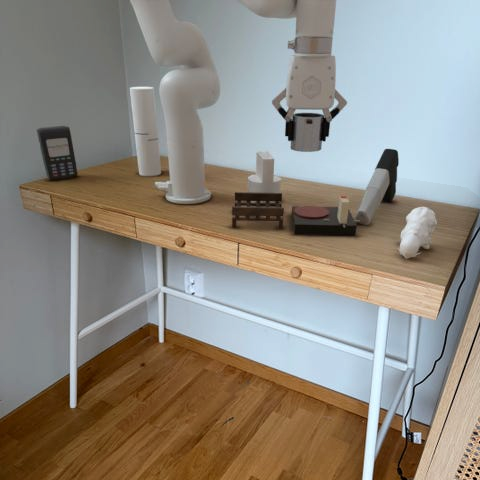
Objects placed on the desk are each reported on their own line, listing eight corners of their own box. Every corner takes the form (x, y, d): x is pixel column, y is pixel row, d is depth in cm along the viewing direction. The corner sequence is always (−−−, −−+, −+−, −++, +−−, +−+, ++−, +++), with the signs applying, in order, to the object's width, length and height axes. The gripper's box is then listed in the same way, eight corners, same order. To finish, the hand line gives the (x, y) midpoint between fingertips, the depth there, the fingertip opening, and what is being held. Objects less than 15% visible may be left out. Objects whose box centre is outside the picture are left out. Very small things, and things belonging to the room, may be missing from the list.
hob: (294, 236, 105) (295, 225, 104) (291, 215, 117) (291, 205, 116) (361, 238, 105) (363, 227, 103) (351, 216, 117) (352, 206, 115)
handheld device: (397, 192, 127) (399, 147, 115) (370, 252, 119) (369, 211, 107) (383, 189, 129) (384, 145, 117) (355, 249, 121) (353, 208, 108)
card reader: (49, 182, 141) (38, 129, 133) (45, 179, 144) (34, 127, 136) (79, 177, 145) (70, 127, 137) (75, 174, 148) (66, 124, 140)
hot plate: (295, 217, 108) (295, 216, 108) (293, 206, 115) (293, 205, 115) (331, 218, 108) (331, 217, 108) (326, 206, 115) (327, 205, 115)
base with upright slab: (283, 204, 124) (286, 158, 118) (250, 206, 123) (251, 159, 117) (275, 194, 132) (277, 150, 125) (244, 195, 131) (245, 151, 124)
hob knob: (346, 223, 105) (349, 201, 102) (339, 223, 105) (342, 201, 102) (344, 217, 109) (346, 195, 106) (337, 217, 109) (339, 195, 106)
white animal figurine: (441, 206, 96) (428, 229, 88) (433, 243, 102) (419, 268, 93) (411, 201, 99) (395, 223, 91) (404, 237, 104) (388, 261, 96)
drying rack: (232, 227, 110) (232, 207, 107) (234, 211, 120) (234, 191, 117) (282, 228, 109) (283, 208, 106) (281, 212, 119) (282, 192, 117)
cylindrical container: (139, 170, 153) (130, 86, 140) (161, 170, 154) (154, 86, 141) (138, 176, 147) (128, 89, 134) (160, 175, 148) (153, 89, 135)
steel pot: (291, 152, 100) (293, 118, 97) (289, 144, 108) (291, 111, 104) (323, 153, 100) (326, 118, 96) (318, 144, 108) (321, 112, 104)
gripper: (270, 48, 91) (267, 143, 100) (359, 48, 90) (348, 144, 100) (270, 47, 97) (267, 136, 107) (353, 47, 97) (343, 137, 106)
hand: (306, 139), depth 103 cm, fingers closed on steel pot, 6 cm apart
